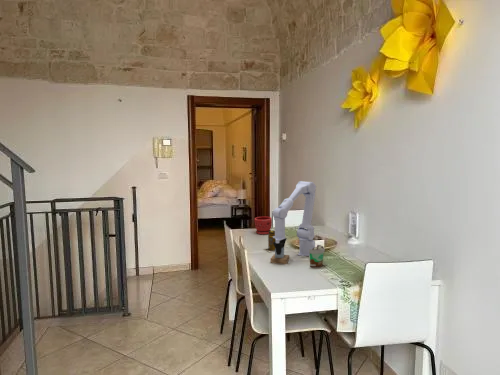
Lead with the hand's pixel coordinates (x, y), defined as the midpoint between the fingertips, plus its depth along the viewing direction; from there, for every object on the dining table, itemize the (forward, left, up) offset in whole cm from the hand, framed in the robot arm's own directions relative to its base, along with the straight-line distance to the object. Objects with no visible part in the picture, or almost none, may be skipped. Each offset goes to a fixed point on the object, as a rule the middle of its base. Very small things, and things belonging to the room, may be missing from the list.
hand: (280, 252), depth 208 cm
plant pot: (+27, -66, -5) cm, 71 cm away
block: (0, 0, -2) cm, 2 cm away
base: (0, 0, -5) cm, 5 cm away
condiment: (+10, -22, -5) cm, 25 cm away
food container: (-22, +3, -5) cm, 23 cm away
